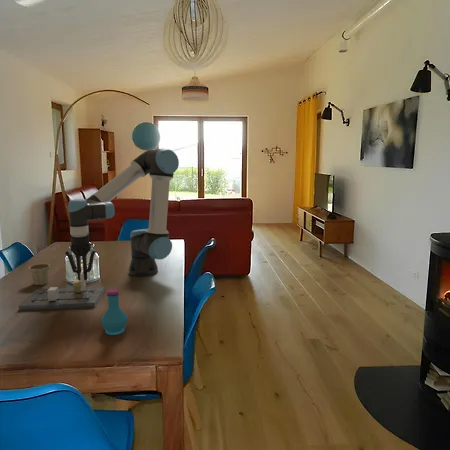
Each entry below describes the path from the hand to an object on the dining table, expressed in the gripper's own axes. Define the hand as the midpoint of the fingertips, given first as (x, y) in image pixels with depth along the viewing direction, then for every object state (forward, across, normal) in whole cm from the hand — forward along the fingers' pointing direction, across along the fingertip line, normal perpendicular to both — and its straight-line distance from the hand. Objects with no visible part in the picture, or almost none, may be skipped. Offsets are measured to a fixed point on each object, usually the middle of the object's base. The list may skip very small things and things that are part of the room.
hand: (83, 287), depth 176 cm
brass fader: (+2, +2, 0) cm, 3 cm away
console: (+4, +7, +4) cm, 9 cm away
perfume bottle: (+4, -20, +38) cm, 43 cm away
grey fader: (+2, +10, +9) cm, 14 cm away
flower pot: (+4, +25, -20) cm, 32 cm away
